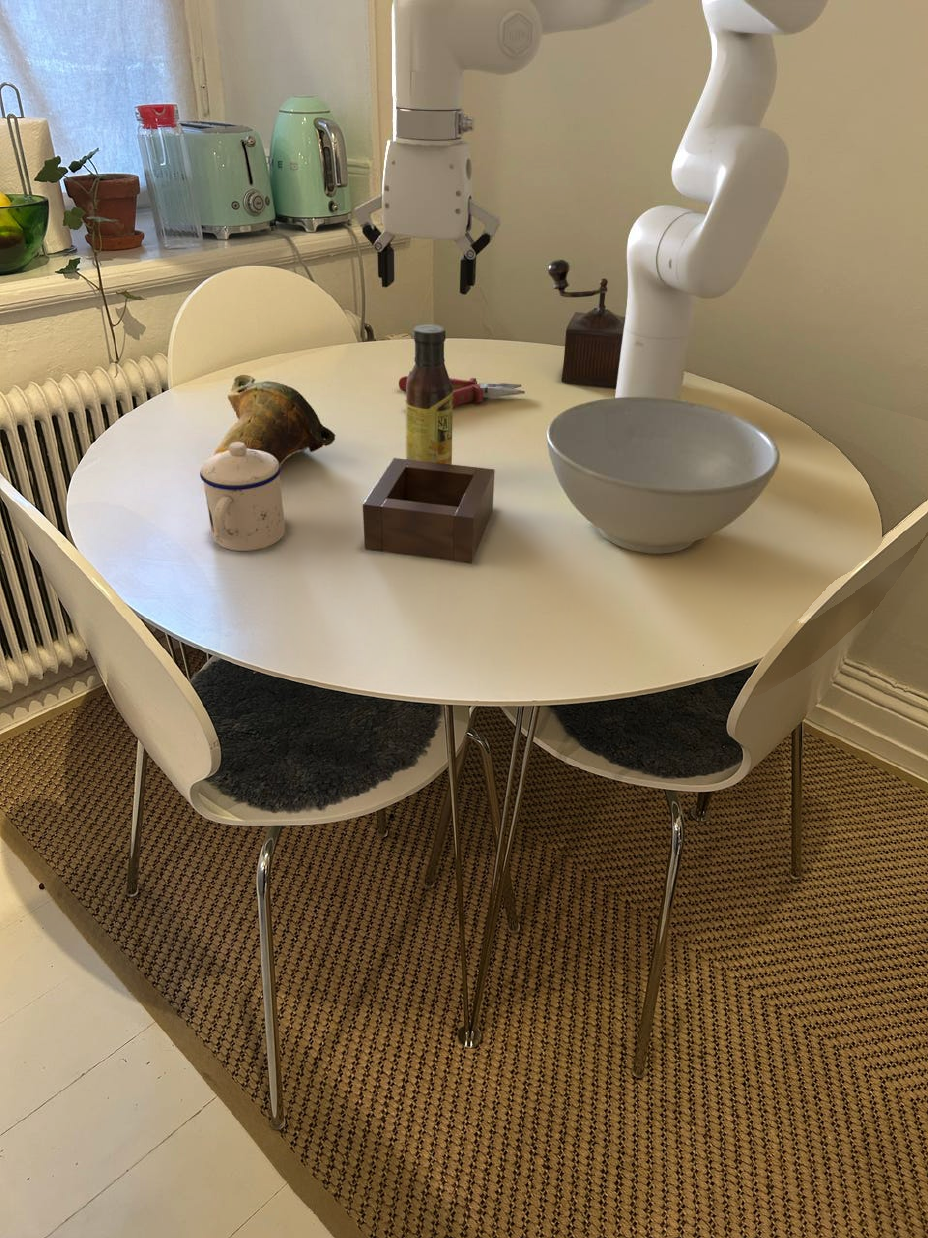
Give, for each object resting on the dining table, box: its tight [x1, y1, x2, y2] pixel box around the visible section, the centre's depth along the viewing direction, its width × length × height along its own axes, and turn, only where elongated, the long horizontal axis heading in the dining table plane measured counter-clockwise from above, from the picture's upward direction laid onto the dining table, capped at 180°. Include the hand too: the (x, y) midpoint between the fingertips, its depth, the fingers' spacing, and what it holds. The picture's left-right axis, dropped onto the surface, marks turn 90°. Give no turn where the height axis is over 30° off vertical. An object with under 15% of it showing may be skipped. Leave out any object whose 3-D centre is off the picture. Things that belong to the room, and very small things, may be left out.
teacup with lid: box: [199, 442, 286, 552], centre depth 101 cm, size 12×9×12 cm
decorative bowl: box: [546, 397, 781, 554], centre depth 106 cm, size 27×27×12 cm
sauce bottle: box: [405, 324, 454, 465], centre depth 115 cm, size 6×6×20 cm
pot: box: [212, 374, 336, 466], centre depth 120 cm, size 17×11×18 cm
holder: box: [362, 457, 496, 564], centre depth 106 cm, size 13×13×6 cm
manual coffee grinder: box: [547, 259, 626, 389], centre depth 149 cm, size 16×11×18 cm
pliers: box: [398, 375, 526, 407], centre depth 143 cm, size 12×20×3 cm, turn 100°
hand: (426, 287), depth 106 cm, fingers open, 9 cm apart
